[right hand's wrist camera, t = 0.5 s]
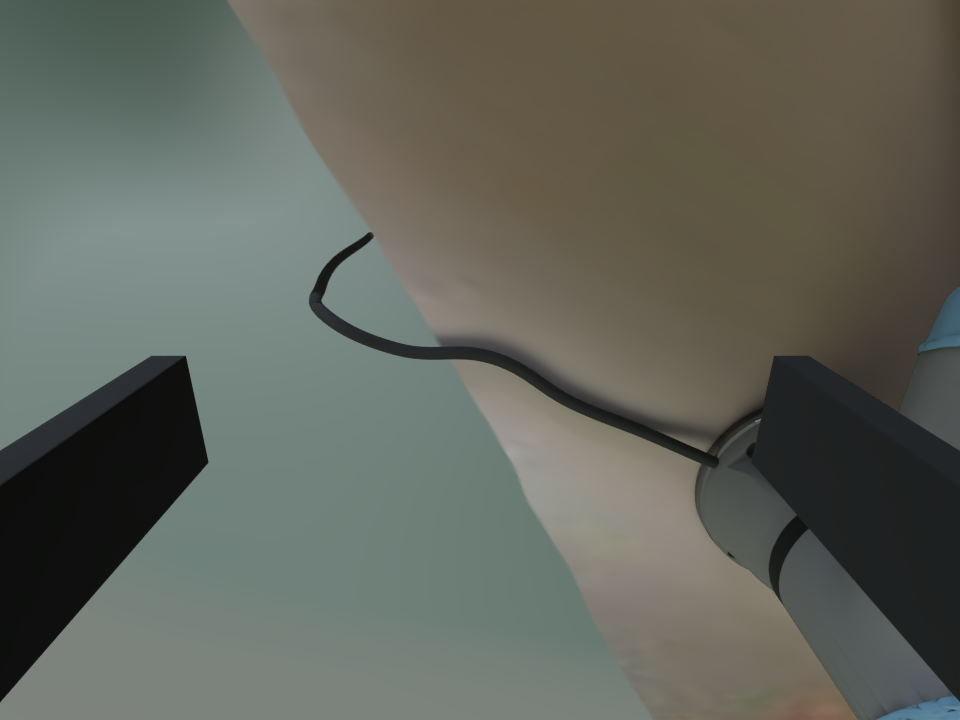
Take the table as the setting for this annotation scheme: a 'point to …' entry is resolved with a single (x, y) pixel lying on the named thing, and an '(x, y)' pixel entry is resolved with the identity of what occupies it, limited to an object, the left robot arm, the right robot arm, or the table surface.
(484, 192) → the table surface
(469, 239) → the table surface
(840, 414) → the right robot arm
